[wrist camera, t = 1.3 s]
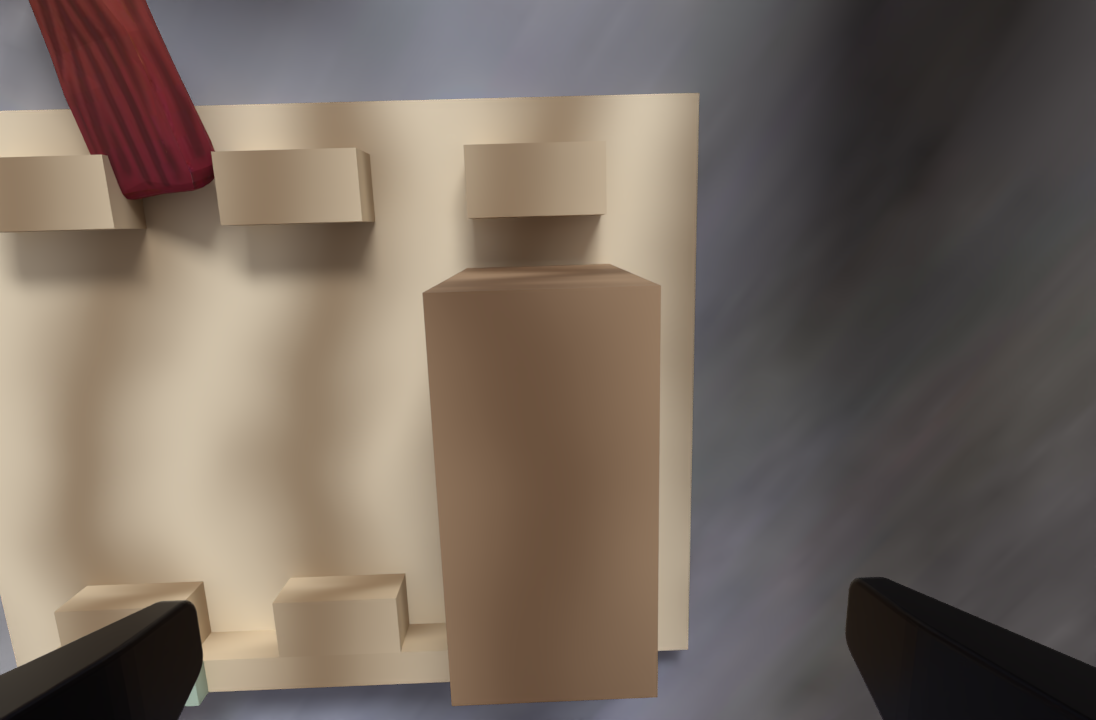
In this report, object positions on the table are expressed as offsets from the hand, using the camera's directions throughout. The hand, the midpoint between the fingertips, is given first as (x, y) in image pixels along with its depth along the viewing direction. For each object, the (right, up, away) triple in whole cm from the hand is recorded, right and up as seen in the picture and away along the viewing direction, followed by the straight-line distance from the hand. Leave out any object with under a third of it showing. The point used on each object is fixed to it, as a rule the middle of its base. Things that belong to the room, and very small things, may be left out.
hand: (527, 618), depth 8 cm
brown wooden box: (0, +2, +12) cm, 12 cm away
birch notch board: (-7, +2, +13) cm, 15 cm away
